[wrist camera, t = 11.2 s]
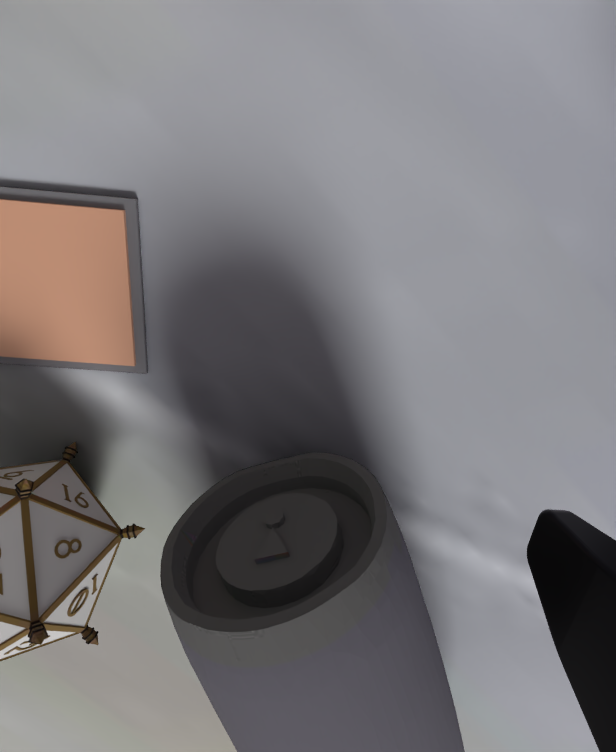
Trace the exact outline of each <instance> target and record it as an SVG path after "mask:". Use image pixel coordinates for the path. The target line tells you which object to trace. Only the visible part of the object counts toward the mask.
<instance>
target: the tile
mask: <svg viewBox="0 0 616 752" xmlns="http://www.w3.org/2000/svg"><path fill="white" fill-rule="evenodd" d="M0 363H4V364H18V365H32V366H45V367H59V368H73V369H87V370H100V371H114V372H128V373H142V374H147V373H148V364H147V347H146V330H145V313H144V296H143V279H142V263H141V246H140V229H139V212H138V199H135V198H124V197H113V196H102V195H91V194H80V193H69V192H58V191H47V190H36V189H25V188H14V187H3V186H0Z"/></svg>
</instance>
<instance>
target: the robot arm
mask: <svg viewBox="0 0 616 752" xmlns="http://www.w3.org/2000/svg"><path fill="white" fill-rule="evenodd" d="M527 559H528V563H529V566H530V569H531V572H532V576H533V579H534V582H535V585H536V588H537V591H538V594H539V597H540V601H541V604H542V607H543V610H544V613H545V616H546V619H547V622H548V626H549V629H550V632H551V635H552V638H553V641H554V644H555V646H556V649H557V652H558V655H559V657H560V660H561V662H562V665H563V667H564V669H565V672H566V674H567V676H568V679H569V681H570V683H571V686H572V688H573V690H574V693H575V695H576V697H577V700H578V702H579V704H580V707H581V709H582V711H583V714H584V716H585V718H586V721H587V723H588V725H589V728H590V730H591V732H592V735H593V737H594V739H595V742H596V744H597V746H598V749H599V751H600V752H616V541H615V540H614V539H612V538H611V537H609V536H608V535H606V534H605V533H603V532H601V531H600V530H598V529H597V528H595V527H594V526H592V525H590V524H589V523H587V522H586V521H584V520H583V519H581V518H580V517H578V516H576V515H575V514H573V513H572V512H569V511H565V510H549V509H548V510H544V511H542V512H541V513H540V515H539V517H538V519H537V522H536V525H535V527H534V530H533V533H532V535H531V538H530V541H529V543H528V547H527Z"/></svg>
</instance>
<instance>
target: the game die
mask: <svg viewBox="0 0 616 752" xmlns="http://www.w3.org/2000/svg"><path fill="white" fill-rule="evenodd" d="M65 449H66V450H65V452H63V458H62V459H61V460H54V461H46V462H39V463H32V464H24V465H17V466H10V467H2V468H0V661H3V660H5V659H8V658H11V657H14V656H17V655H19V654H22V653H25V652H28V651H31V650H34V649H36V648H39V647H42V646H45V645H48V644H50V643H53V642H56V641H59V640H62V639H64V638H67V637H70V636H73V635H76V634H79V633H81V634H82V636H83V637H82V639H84V640H86V643H87V644H89V643H91V644H96V645H98V636H97V634H98V631H97V632H96V631H95V630H94V627H93V628H90V627H88V622H89V620H90V617H91V615H92V612H93V610H94V607H95V605H96V602H97V600H98V597H99V594H100V592H101V589H102V587H103V584H104V582H105V579H106V577H107V574H108V572H109V569H110V567H111V564H112V562H113V559H114V557H115V554H116V552H117V549H118V547H119V544H120V542H121V539H122V538H128V539H130V538H131V537H134V538H136V537H137V535H138V534H139V533H141V532H142V531H143V530H144V529H145V528H142V527H139V526H136V525H135V524H133V525H132V526H129V525H127V527H126V528H124V529H121V528H120V527H119V526H118V524H117V523H116V522H115V520H114V519H113V518H112V517H111V515H110V514H109V513H108V511H107V510H106V509H105V508H104V506H103V505H102V504H101V502H100V501H99V500H98V499H97V497H96V496H95V495H94V493H93V492H92V491H91V490H90V488H89V487H88V486H87V484H86V483H85V482H84V481H83V479H82V478H81V477H80V475H79V474H78V473H77V472H76V470H75V469H74V468H73V466H72V465H71V464H70V460H71V459H72V458H75V454H76V453H78V451H77V448H76V442H74V443H73V444H71V445H70V446H68V447H65Z"/></svg>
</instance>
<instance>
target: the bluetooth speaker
mask: <svg viewBox="0 0 616 752" xmlns="http://www.w3.org/2000/svg"><path fill="white" fill-rule="evenodd" d="M161 587H162V591H163V594H164V598H165V602H166V605H167V607H168V610H169V612H170V615H171V618H172V621H173V624H174V627H175V629H176V632H177V634H178V637H179V639H180V641H181V644H182V646H183V648H184V651H185V653H186V655H187V657H188V659H189V661H190V663H191V665H192V667H193V669H194V671H195V673H196V675H197V677H198V679H199V681H200V682H201V684H202V686H203V688H204V690H205V692H206V694H207V696H208V698H209V700H210V702H211V704H212V706H213V708H214V709H215V711H216V713H217V715H218V717H219V719H220V721H221V722H222V724H223V726H224V728H225V730H226V732H227V733H228V735H229V737H230V739H231V741H232V743H233V745H234V746H235V748H236V750H237V752H465V751H464V747H463V742H462V737H461V732H460V728H459V724H458V719H457V715H456V710H455V706H454V703H453V699H452V695H451V691H450V687H449V683H448V680H447V676H446V672H445V668H444V665H443V661H442V658H441V654H440V651H439V647H438V644H437V641H436V637H435V634H434V630H433V627H432V624H431V620H430V617H429V614H428V611H427V608H426V605H425V602H424V599H423V595H422V592H421V589H420V586H419V583H418V580H417V577H416V574H415V571H414V568H413V564H412V561H411V558H410V556H409V553H408V550H407V547H406V544H405V541H404V539H403V536H402V533H401V531H400V528H399V526H398V523H397V521H396V518H395V516H394V514H393V511H392V509H391V507H390V505H389V503H388V501H387V499H386V497H385V495H384V493H383V491H382V489H381V487H380V485H379V483H378V481H377V480H376V478H375V477H374V476H373V475H372V474H371V473H370V472H369V471H368V470H367V469H366V468H365V467H363V466H362V465H360V464H359V463H357V462H355V461H353V460H351V459H349V458H346V457H343V456H340V455H336V454H330V453H318V452H311V453H306V454H301V455H297V456H293V457H288V458H284V459H280V460H276V461H272V462H268V463H264V464H260V465H256V466H253V467H249V468H246V469H243V470H240V471H238V472H236V473H234V474H232V475H230V476H228V477H226V478H224V479H223V480H222V481H220V482H219V483H217V484H216V485H214V486H213V487H211V488H210V489H209V490H208V491H206V492H205V493H204V494H203V495H202V496H200V497H199V498H198V499H197V500H196V501H195V502H194V503H193V504H192V505H191V506H190V507H189V508H188V509H187V510H186V512H185V513H184V514H183V515H182V516H181V518H180V519H179V520H178V522H177V523H176V525H175V526H174V527H173V529H172V531H171V533H170V534H169V536H168V538H167V541H166V543H165V546H164V549H163V554H162V559H161Z"/></svg>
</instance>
